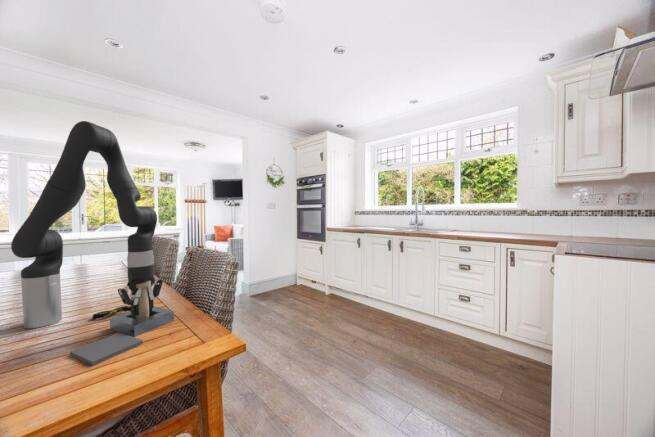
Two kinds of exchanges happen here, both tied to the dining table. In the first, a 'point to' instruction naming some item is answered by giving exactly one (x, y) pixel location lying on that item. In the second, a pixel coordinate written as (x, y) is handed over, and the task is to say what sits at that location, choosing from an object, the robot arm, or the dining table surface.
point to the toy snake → (111, 312)
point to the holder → (141, 321)
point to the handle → (143, 301)
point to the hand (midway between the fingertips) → (142, 312)
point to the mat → (105, 348)
